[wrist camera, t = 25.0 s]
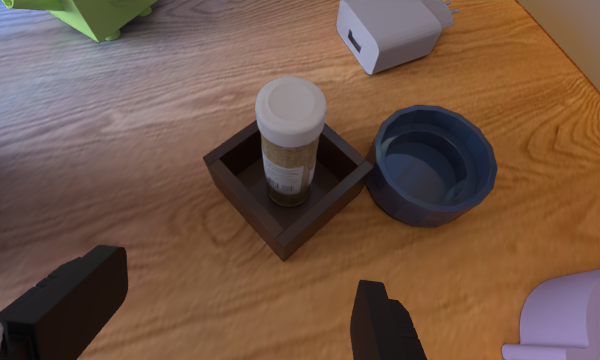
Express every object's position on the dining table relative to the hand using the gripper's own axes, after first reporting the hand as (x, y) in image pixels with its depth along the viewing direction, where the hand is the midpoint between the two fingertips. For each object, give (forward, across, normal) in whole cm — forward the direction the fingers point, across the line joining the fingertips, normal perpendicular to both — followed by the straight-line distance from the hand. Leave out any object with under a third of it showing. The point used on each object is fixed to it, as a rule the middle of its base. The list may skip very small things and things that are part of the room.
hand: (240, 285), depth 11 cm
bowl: (+24, -14, +2) cm, 28 cm away
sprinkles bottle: (+21, 0, +4) cm, 22 cm away
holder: (+22, 0, +4) cm, 22 cm away
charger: (+38, -12, -13) cm, 42 cm away
